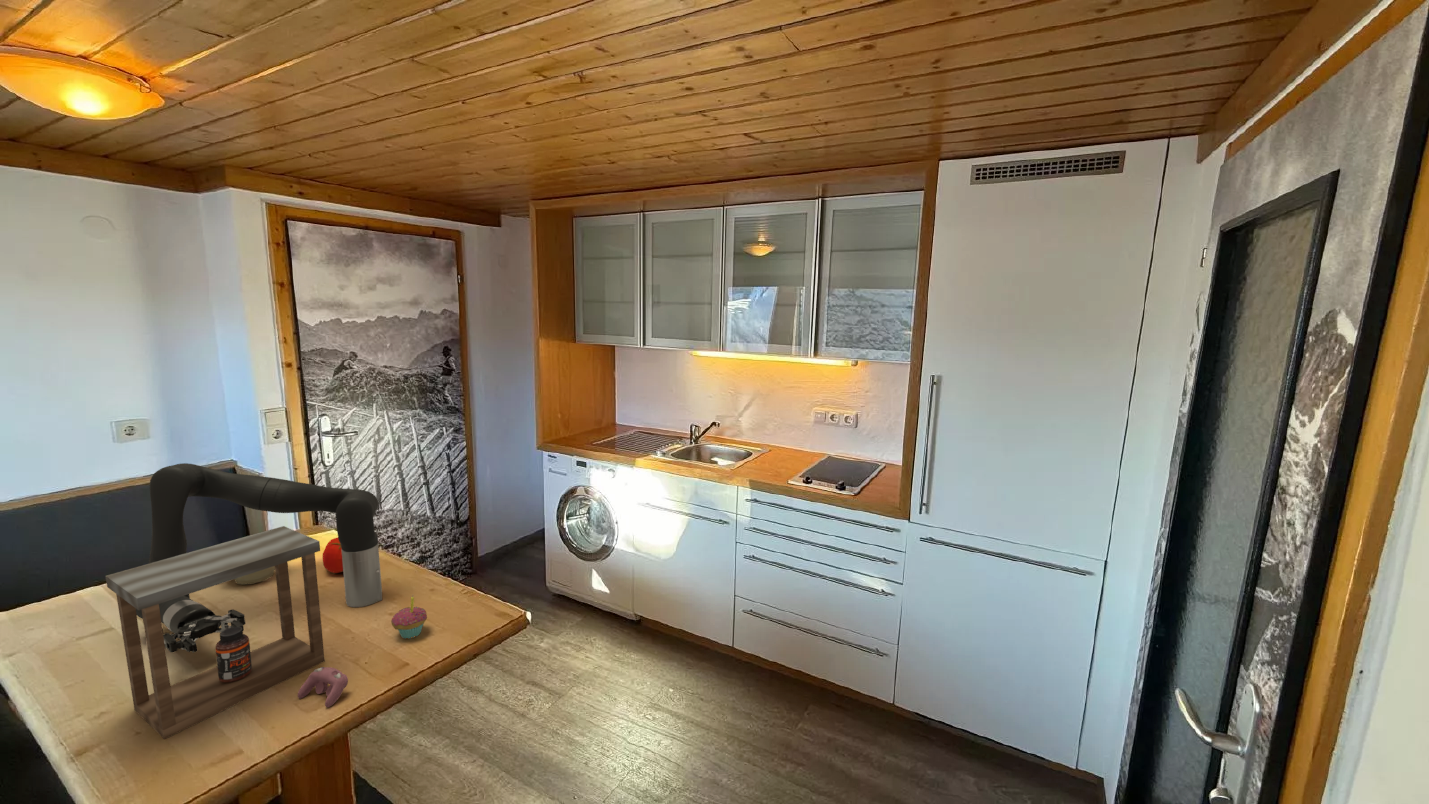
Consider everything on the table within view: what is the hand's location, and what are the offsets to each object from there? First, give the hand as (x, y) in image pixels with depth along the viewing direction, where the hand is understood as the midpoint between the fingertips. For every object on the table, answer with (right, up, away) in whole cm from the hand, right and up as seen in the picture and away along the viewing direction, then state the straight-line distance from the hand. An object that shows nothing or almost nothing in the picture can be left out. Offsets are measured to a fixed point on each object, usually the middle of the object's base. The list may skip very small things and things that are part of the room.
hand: (218, 639), depth 133 cm
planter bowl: (-30, -1, +47) cm, 56 cm away
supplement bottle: (+6, -8, -2) cm, 10 cm away
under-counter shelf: (+6, -10, -2) cm, 11 cm away
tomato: (-5, 0, +55) cm, 55 cm away
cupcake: (+34, -7, +20) cm, 41 cm away
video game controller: (+28, -11, -5) cm, 31 cm away
